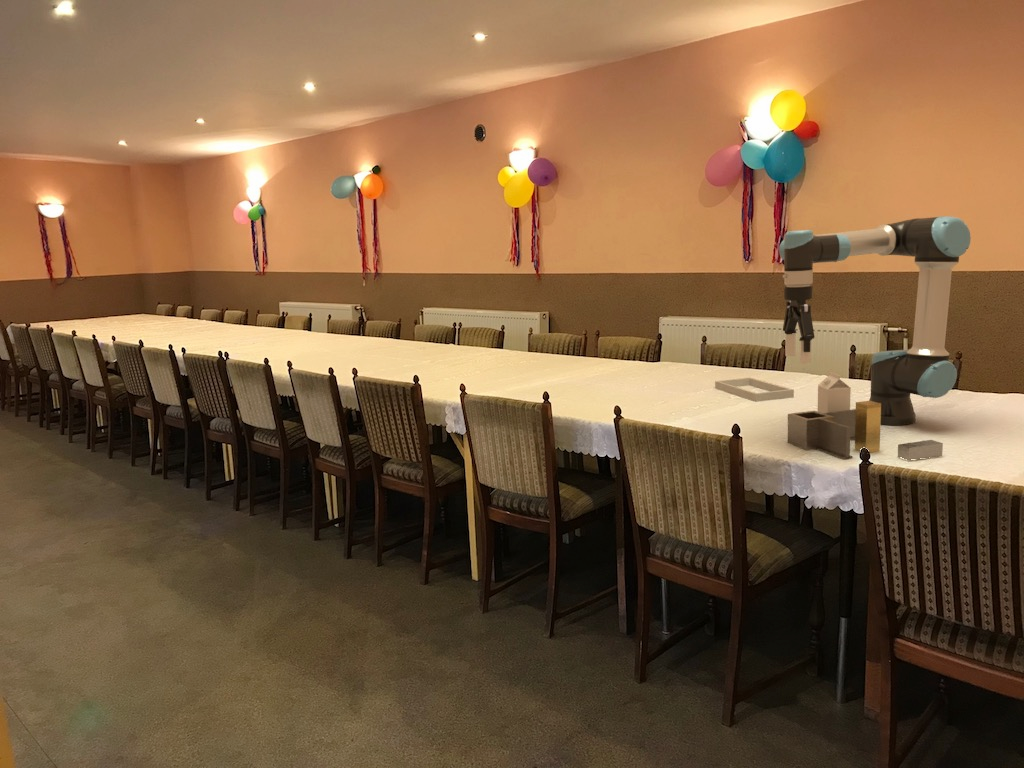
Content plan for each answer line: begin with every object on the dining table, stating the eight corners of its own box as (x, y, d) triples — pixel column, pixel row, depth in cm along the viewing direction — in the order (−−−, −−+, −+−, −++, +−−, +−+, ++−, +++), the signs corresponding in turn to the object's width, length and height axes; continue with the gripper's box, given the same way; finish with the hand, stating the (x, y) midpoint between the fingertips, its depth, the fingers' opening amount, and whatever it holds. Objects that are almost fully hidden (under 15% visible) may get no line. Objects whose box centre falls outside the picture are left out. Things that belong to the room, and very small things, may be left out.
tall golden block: (868, 447, 217) (869, 400, 215) (879, 451, 213) (881, 403, 210) (854, 449, 216) (855, 402, 214) (865, 453, 212) (867, 405, 209)
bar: (930, 453, 209) (931, 439, 209) (942, 457, 205) (942, 443, 205) (897, 458, 207) (898, 444, 206) (908, 462, 203) (909, 448, 202)
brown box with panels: (847, 434, 232) (848, 406, 230) (898, 451, 212) (899, 420, 210) (787, 442, 227) (787, 413, 225) (833, 460, 207) (834, 429, 205)
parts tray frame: (750, 384, 317) (750, 377, 317) (793, 397, 288) (793, 389, 288) (715, 388, 313) (715, 381, 313) (755, 401, 284) (755, 393, 284)
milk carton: (839, 429, 238) (840, 371, 235) (849, 435, 231) (851, 374, 228) (816, 431, 238) (817, 372, 235) (826, 436, 231) (828, 376, 228)
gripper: (772, 284, 225) (772, 353, 229) (798, 289, 200) (798, 367, 204) (797, 282, 224) (797, 352, 228) (827, 287, 200) (826, 365, 204)
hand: (797, 359), depth 216 cm, fingers open, 13 cm apart
